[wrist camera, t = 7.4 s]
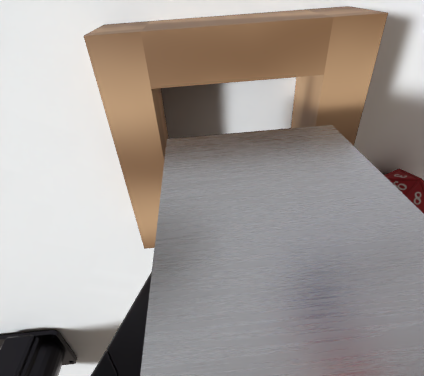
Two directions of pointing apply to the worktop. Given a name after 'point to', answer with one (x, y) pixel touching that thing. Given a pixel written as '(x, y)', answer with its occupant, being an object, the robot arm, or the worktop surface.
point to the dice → (408, 186)
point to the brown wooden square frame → (227, 77)
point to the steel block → (283, 261)
